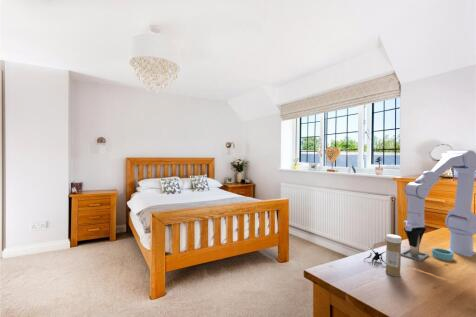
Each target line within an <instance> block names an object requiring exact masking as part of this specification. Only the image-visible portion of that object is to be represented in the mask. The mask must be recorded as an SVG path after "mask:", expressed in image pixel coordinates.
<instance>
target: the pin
mask: <svg viewBox="0 0 476 317" xmlns="http://www.w3.org/2000/svg"><path fill="white" fill-rule="evenodd" d="M419 242H420V235H419V237H418V242H417V246H416V247H413V246H410V245H409V246H410V247H409V249H410V254H412V255H415V256H419V252H420V245H419ZM420 243H421V242H420Z"/></svg>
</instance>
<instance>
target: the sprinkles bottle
mask: <svg viewBox="0 0 476 317" xmlns="http://www.w3.org/2000/svg"><path fill="white" fill-rule="evenodd" d="M402 238H403V237H401V236H400V235H397V234H392V233H388V234H386V236H385V240H386V248H385V249H386V250H385V251H386V252H385V253H386V254H385V263H386V264H385V273H386V274H387V275H389V276H391V277H401V266H402V264H401V262H402V259H401V257H402V256H401V253H402V251H401V250H402Z"/></svg>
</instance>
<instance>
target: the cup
mask: <svg viewBox="0 0 476 317" xmlns="http://www.w3.org/2000/svg"><path fill="white" fill-rule="evenodd" d="M454 254H455V253H453V252H451V251H449V250H448V249H444V248H439V247H434V248H432V249H431V256H432V258H435V259H437V260H441V261H446V262H452V261H454Z"/></svg>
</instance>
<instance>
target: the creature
mask: <svg viewBox="0 0 476 317" xmlns="http://www.w3.org/2000/svg"><path fill="white" fill-rule="evenodd" d="M370 250H371V251H372V252H373V253H372V252H370V254H369V256H368V257H365V258H364V259H363V261H365V260H366V259H370V258H371V257H372V258H371V259H372V260H371V262H372V263H371V265H373V263H374V266H376V263H377V261H378V260H379V262H380V263H379V266H382V262H383V263H384V264H385V265H386V261H385V260H384V259H383V255H384V254H385V253H386V250H385V251H383V252H381V253H379V252H378V251H375V250H373V248H370ZM372 254H374V256H372Z"/></svg>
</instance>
